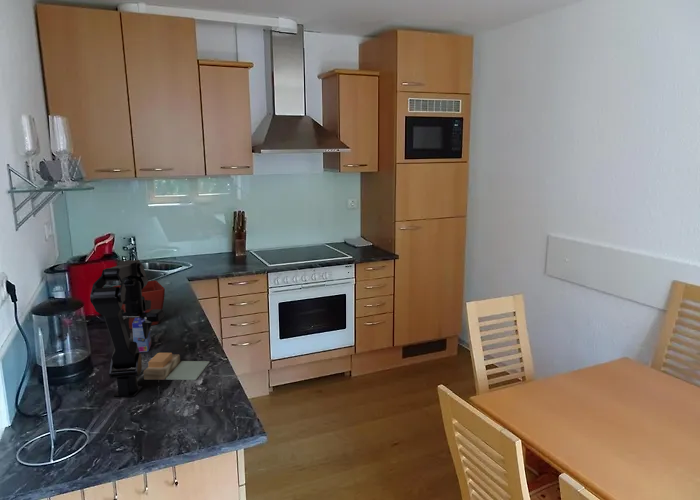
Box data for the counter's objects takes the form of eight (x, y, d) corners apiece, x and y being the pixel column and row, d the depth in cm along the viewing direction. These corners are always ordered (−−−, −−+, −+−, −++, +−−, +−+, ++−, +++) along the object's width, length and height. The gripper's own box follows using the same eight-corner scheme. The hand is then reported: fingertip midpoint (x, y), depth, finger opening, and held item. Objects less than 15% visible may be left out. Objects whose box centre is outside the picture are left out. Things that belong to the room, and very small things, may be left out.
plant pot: (159, 313, 235) (156, 279, 231) (168, 324, 219) (165, 288, 216) (116, 321, 225) (111, 286, 221) (122, 334, 209) (118, 296, 206)
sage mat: (196, 379, 166) (196, 378, 166) (165, 379, 166) (165, 378, 166) (209, 362, 180) (209, 361, 179) (181, 362, 180) (181, 361, 180)
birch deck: (164, 379, 166) (163, 371, 166) (144, 379, 167) (143, 371, 166) (180, 362, 180) (179, 354, 180) (161, 361, 180) (161, 354, 180)
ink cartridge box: (149, 351, 190) (145, 316, 187) (134, 353, 189) (130, 317, 186) (152, 342, 199) (149, 308, 196) (137, 344, 198) (134, 309, 195)
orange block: (162, 367, 169) (162, 362, 168) (148, 367, 169) (148, 362, 169) (172, 357, 177) (171, 352, 176) (158, 357, 177) (158, 352, 177)
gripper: (169, 289, 176) (173, 330, 179) (118, 289, 177) (123, 330, 180) (155, 298, 165) (159, 342, 168) (101, 298, 166) (107, 341, 169)
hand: (137, 338), depth 171 cm, fingers open, 6 cm apart
